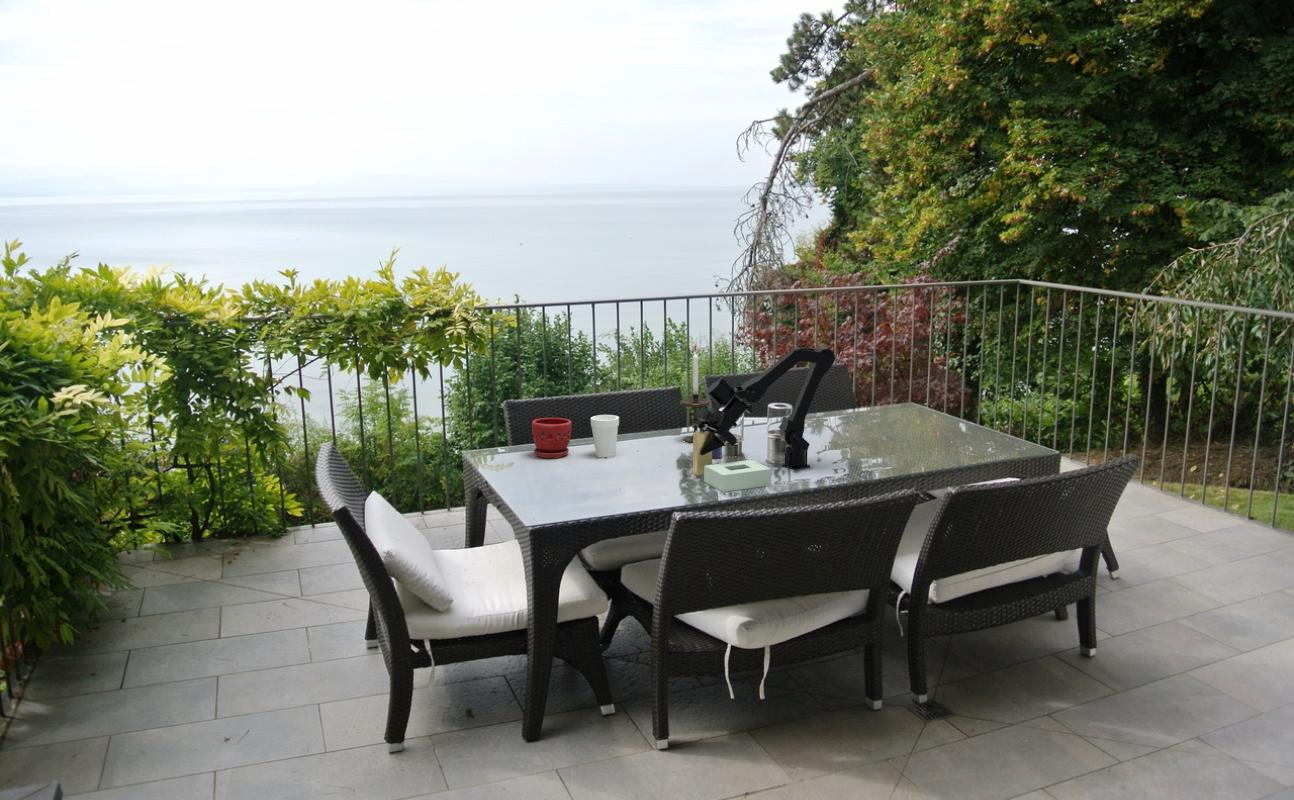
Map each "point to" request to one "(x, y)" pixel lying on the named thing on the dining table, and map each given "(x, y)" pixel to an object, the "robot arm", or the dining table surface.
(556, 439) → the plant pot
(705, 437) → the tan rectangular block
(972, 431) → the dining table surface
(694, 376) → the candlestick
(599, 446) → the foam cup
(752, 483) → the coin box
